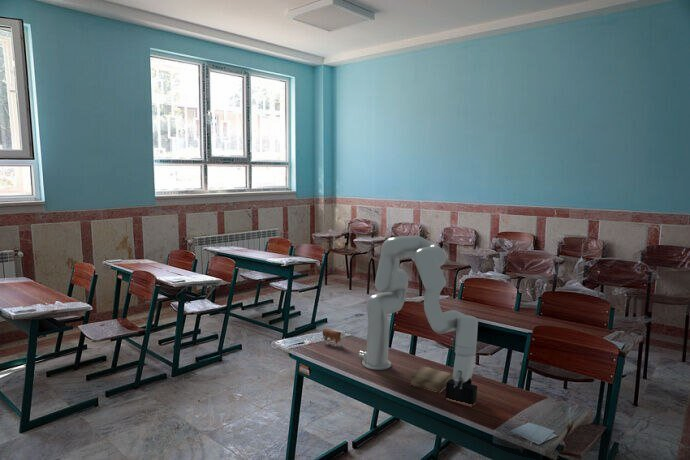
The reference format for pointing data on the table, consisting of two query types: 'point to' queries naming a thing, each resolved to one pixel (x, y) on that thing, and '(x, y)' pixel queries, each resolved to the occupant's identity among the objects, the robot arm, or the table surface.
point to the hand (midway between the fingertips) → (462, 393)
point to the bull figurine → (333, 336)
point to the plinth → (430, 379)
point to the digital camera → (468, 392)
